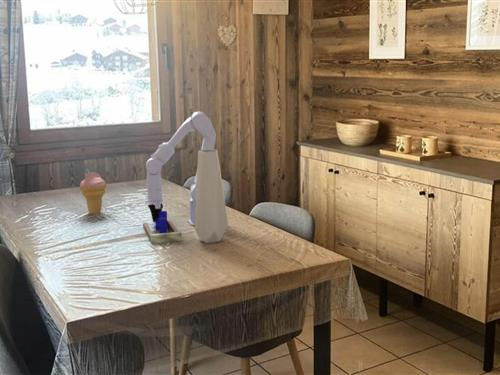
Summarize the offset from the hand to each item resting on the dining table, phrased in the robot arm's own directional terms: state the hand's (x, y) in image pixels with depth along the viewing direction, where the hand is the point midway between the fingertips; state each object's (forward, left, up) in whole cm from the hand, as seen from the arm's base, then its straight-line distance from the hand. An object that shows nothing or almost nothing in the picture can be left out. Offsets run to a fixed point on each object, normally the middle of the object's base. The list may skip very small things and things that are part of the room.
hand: (156, 222), depth 241 cm
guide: (0, +13, -1) cm, 13 cm away
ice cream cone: (+22, -27, -1) cm, 35 cm away
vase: (-16, +27, -1) cm, 31 cm away
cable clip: (-1, +8, -1) cm, 8 cm away
